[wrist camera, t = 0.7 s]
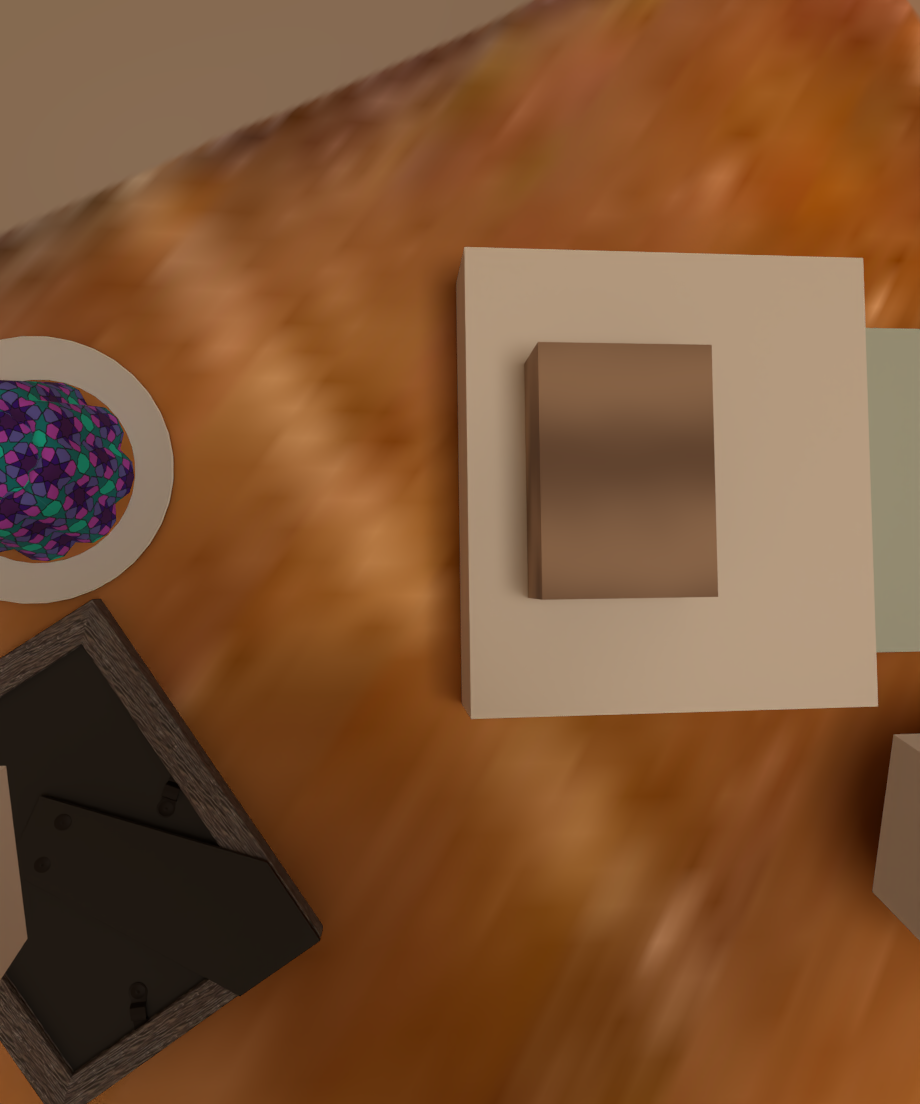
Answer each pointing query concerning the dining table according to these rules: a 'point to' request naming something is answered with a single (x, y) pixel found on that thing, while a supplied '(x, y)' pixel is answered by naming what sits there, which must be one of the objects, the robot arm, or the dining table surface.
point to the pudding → (74, 468)
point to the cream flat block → (740, 486)
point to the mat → (895, 484)
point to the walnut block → (620, 471)
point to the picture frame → (124, 866)
